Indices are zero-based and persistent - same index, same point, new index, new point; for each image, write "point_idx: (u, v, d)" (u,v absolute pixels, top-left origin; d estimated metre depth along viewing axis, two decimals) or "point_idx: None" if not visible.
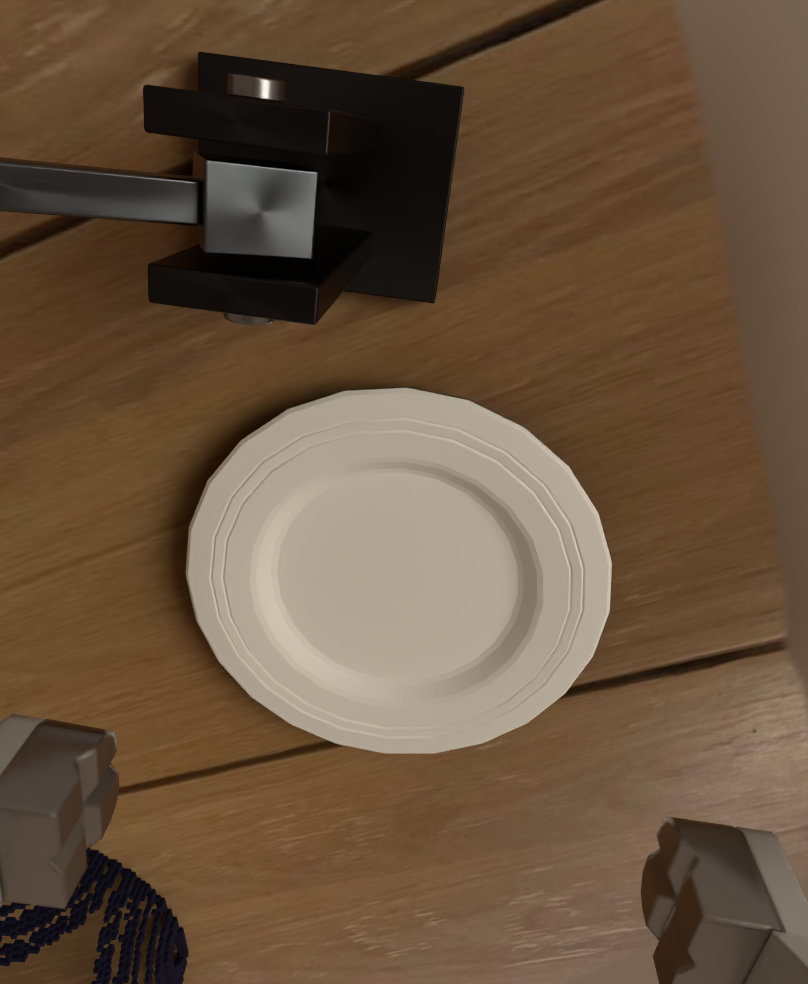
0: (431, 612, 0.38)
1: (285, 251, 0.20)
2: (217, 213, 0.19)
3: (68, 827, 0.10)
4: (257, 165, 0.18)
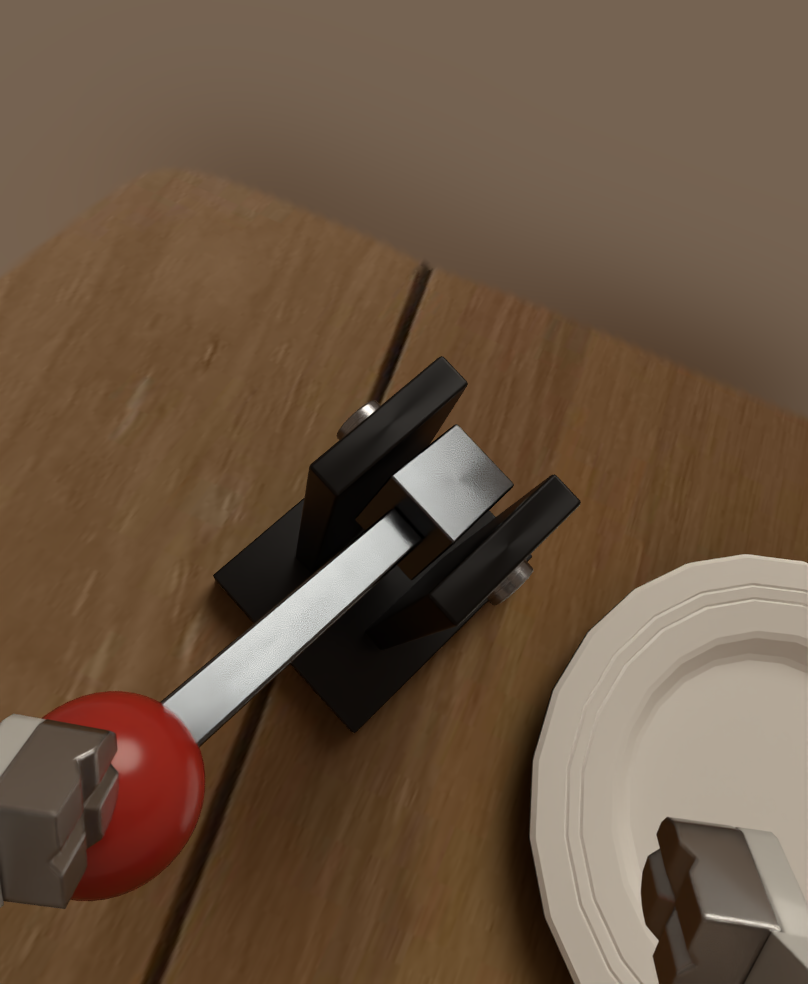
0: None
1: (495, 493, 0.19)
2: (433, 505, 0.18)
3: (69, 827, 0.10)
4: (422, 451, 0.19)
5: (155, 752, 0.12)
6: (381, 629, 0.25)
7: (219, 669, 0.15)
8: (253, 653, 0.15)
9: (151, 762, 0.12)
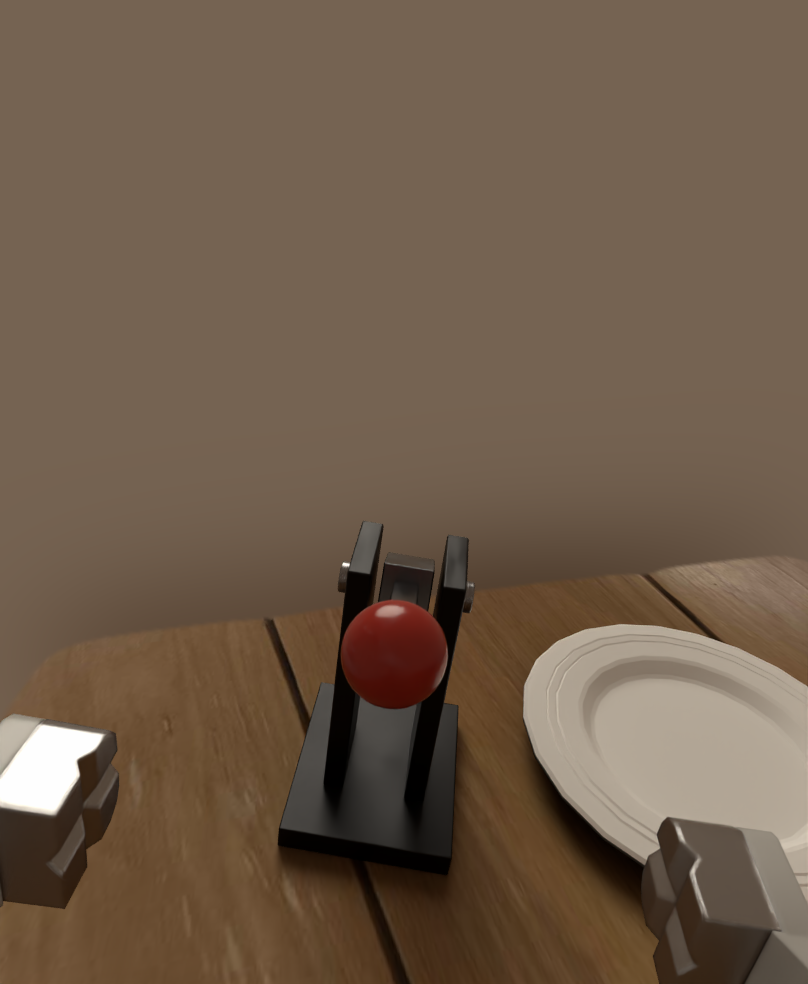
0: (716, 730, 0.45)
1: (430, 561, 0.34)
2: (412, 566, 0.33)
3: (68, 827, 0.10)
4: (386, 557, 0.34)
5: None
6: (419, 741, 0.35)
7: None
8: None
9: None
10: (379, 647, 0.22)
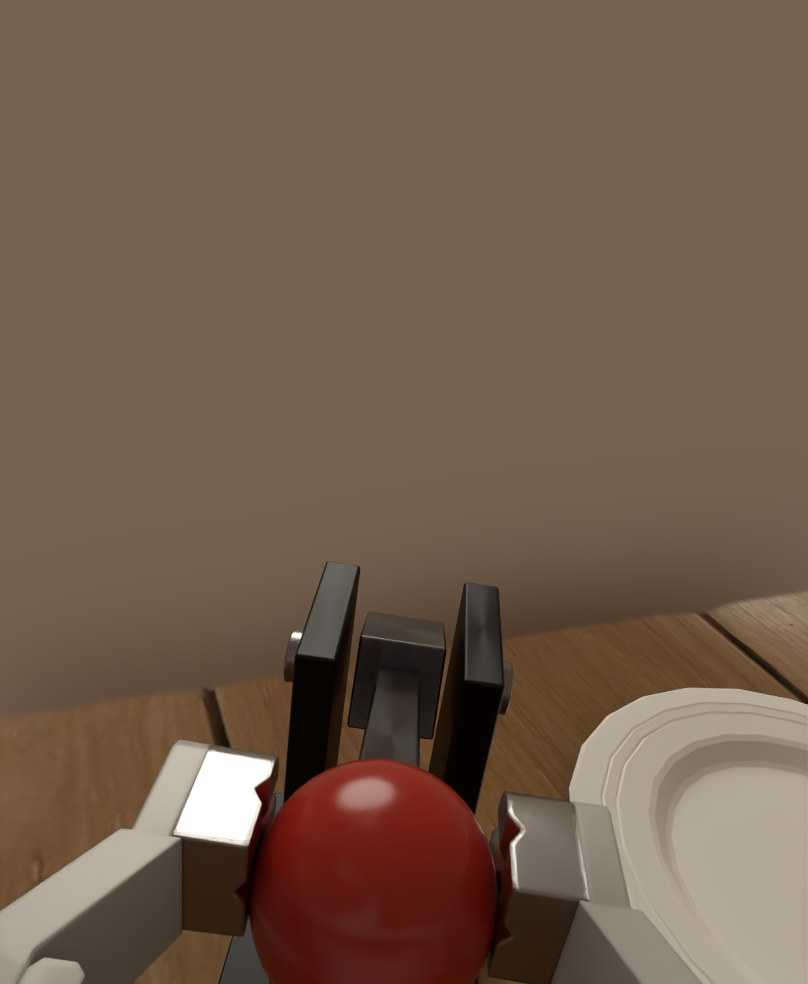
0: None
1: (437, 627, 0.21)
2: (408, 639, 0.19)
3: (252, 856, 0.10)
4: (365, 623, 0.20)
5: (401, 762, 0.11)
6: None
7: None
8: (386, 751, 0.14)
9: None
10: (334, 911, 0.09)
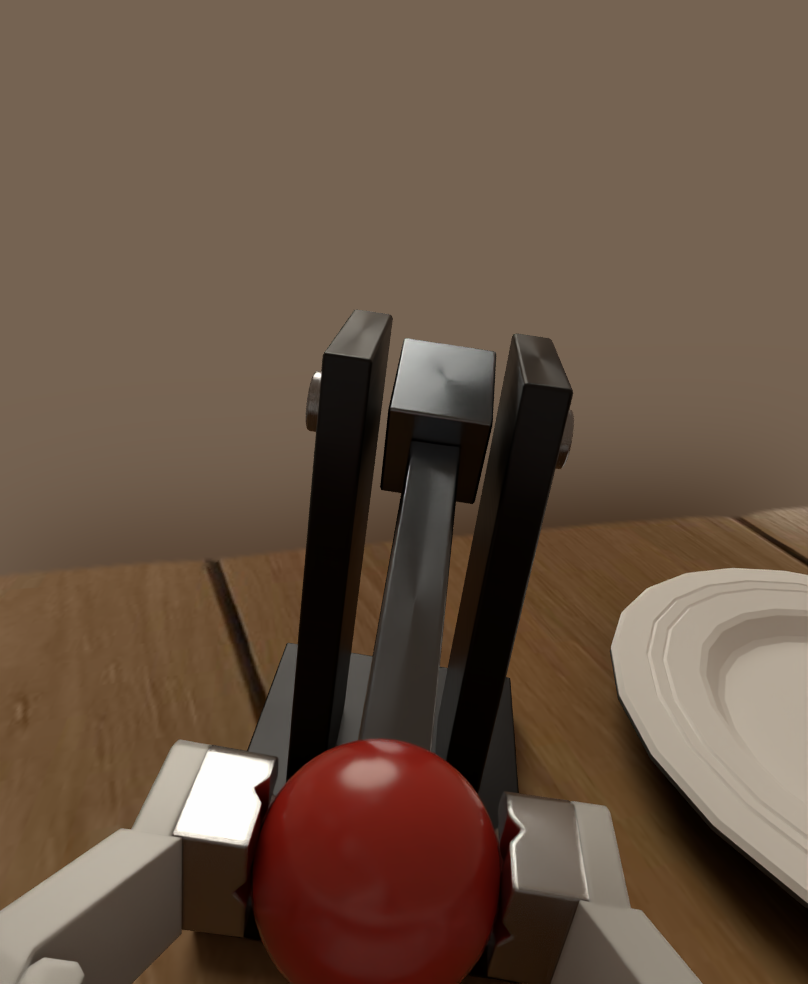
0: None
1: (487, 367, 0.17)
2: (447, 408, 0.16)
3: (252, 856, 0.10)
4: (397, 374, 0.17)
5: (403, 772, 0.10)
6: (462, 724, 0.18)
7: (386, 672, 0.12)
8: (404, 638, 0.12)
9: (408, 784, 0.10)
10: (323, 977, 0.09)
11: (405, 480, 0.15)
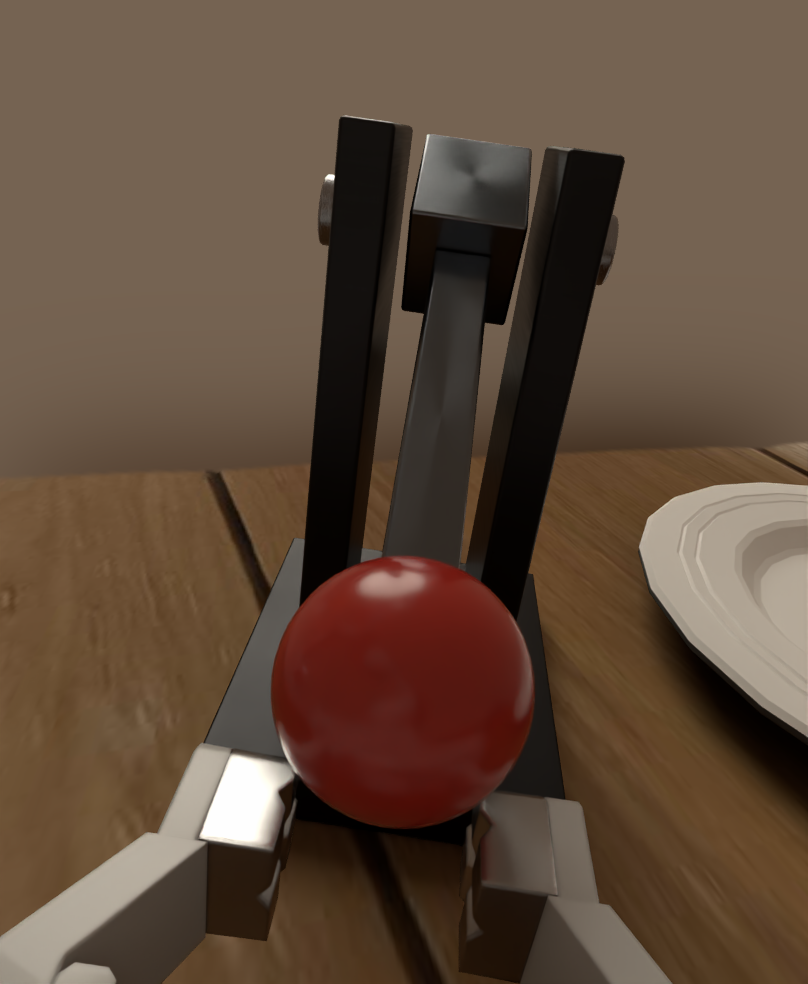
0: None
1: (522, 166, 0.15)
2: (476, 210, 0.14)
3: (276, 860, 0.10)
4: (419, 173, 0.15)
5: (431, 585, 0.09)
6: (491, 578, 0.17)
7: (410, 491, 0.11)
8: (429, 456, 0.11)
9: (436, 597, 0.09)
10: (349, 786, 0.08)
11: (429, 292, 0.14)
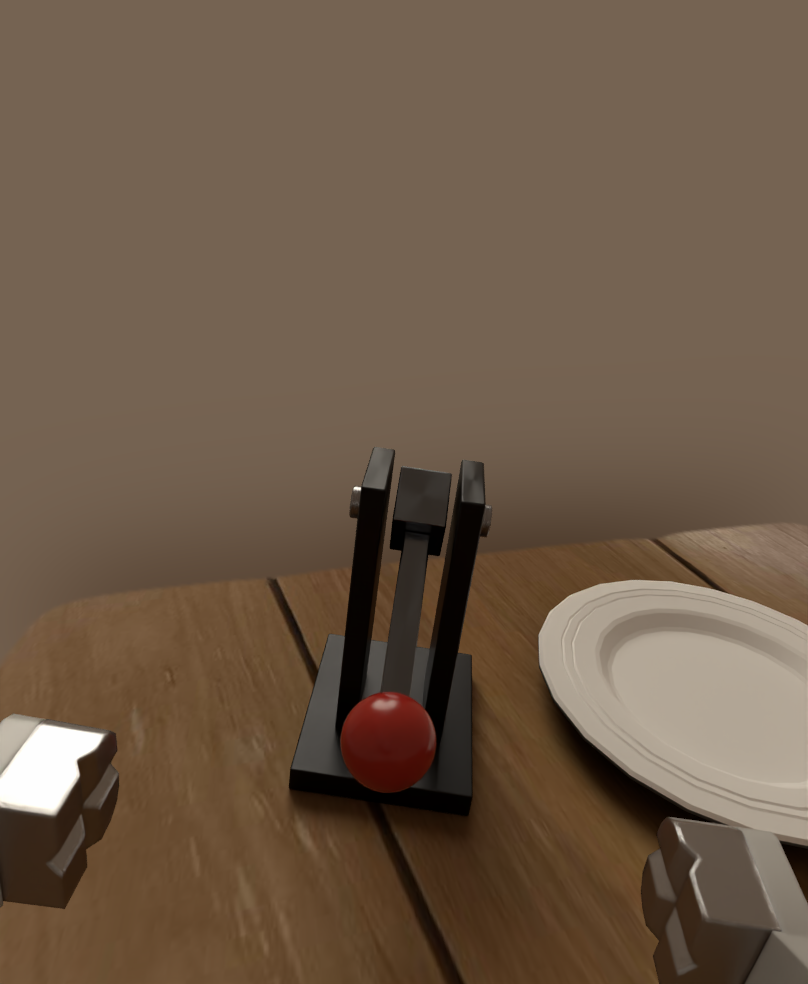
0: (737, 678, 0.43)
1: (446, 486, 0.32)
2: (422, 517, 0.31)
3: (68, 827, 0.10)
4: (397, 494, 0.32)
5: (397, 708, 0.26)
6: (435, 676, 0.33)
7: (391, 661, 0.28)
8: (399, 644, 0.28)
9: (399, 712, 0.26)
10: (369, 777, 0.25)
11: (401, 557, 0.31)
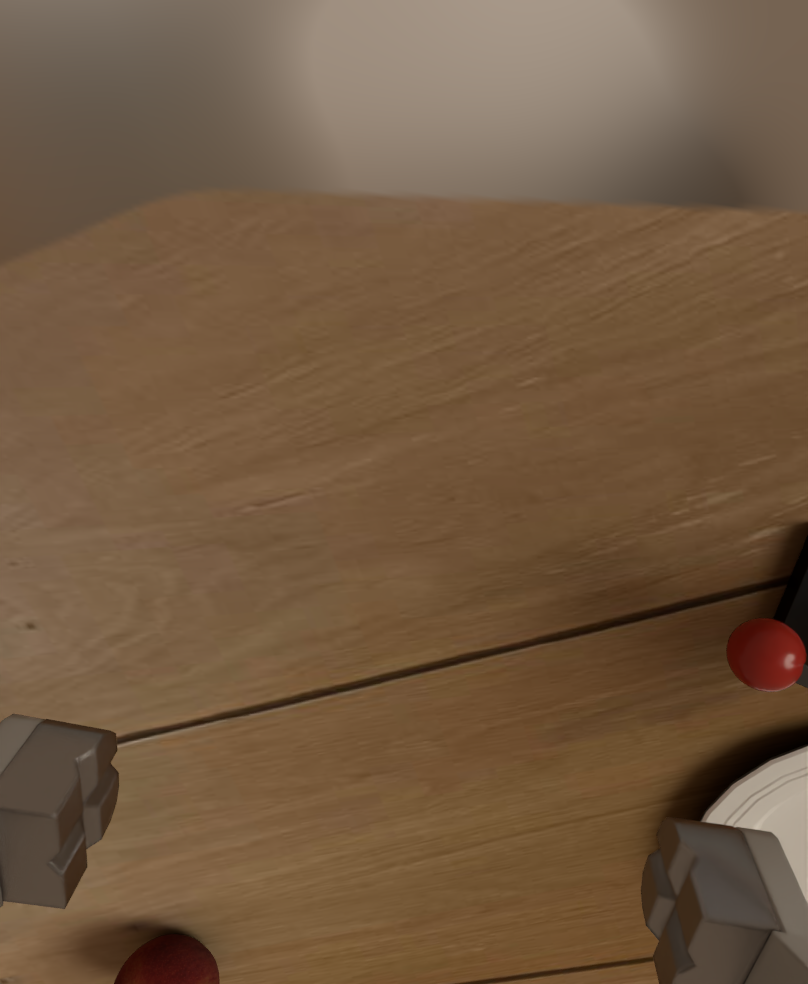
0: None
1: None
2: None
3: (68, 827, 0.10)
4: None
5: (774, 679, 0.34)
6: None
7: None
8: None
9: (770, 679, 0.34)
10: (733, 638, 0.35)
11: None
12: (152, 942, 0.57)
